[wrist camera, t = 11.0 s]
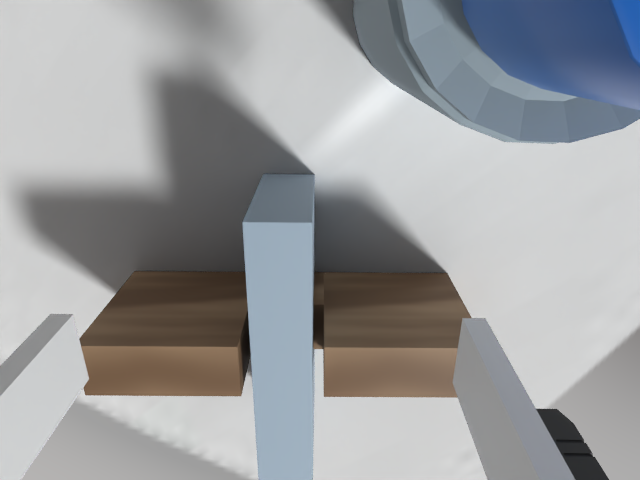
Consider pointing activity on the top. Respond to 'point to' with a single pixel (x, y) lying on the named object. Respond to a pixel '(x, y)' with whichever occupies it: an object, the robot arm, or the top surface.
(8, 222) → the top surface
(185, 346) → the slotted stand
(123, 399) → the top surface
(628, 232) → the top surface
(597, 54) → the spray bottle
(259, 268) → the slotted plate
